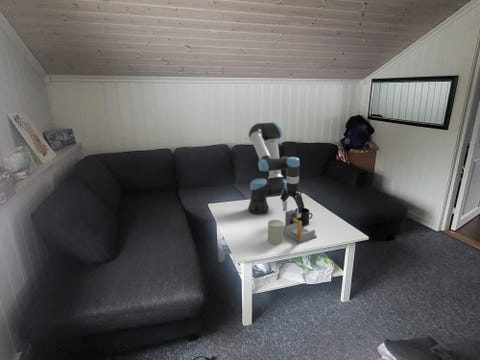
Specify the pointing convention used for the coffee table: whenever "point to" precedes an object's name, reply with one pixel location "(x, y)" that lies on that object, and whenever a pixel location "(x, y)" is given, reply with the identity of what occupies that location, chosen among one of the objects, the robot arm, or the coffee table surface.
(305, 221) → the mug
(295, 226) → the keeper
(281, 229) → the can
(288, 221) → the dark gray box
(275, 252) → the coffee table surface
